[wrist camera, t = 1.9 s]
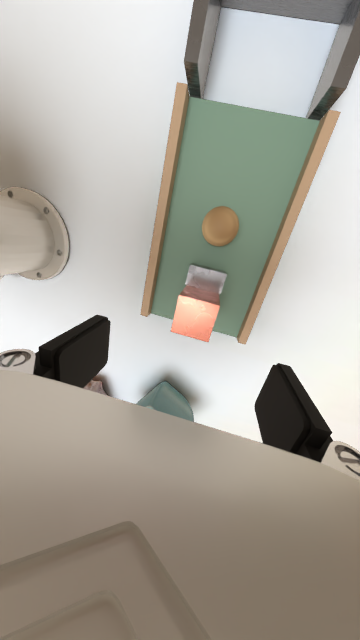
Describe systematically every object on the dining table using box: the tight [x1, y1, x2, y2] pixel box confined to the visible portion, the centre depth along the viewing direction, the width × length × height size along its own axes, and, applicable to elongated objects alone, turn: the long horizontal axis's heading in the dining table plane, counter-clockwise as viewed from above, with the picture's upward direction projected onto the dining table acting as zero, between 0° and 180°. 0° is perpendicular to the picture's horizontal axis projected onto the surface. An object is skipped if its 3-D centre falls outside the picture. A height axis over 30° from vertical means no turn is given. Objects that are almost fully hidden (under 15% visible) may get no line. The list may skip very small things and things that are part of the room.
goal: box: [184, 0, 360, 121], centre depth 17 cm, size 8×13×5 cm, turn 76°
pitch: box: [140, 82, 341, 344], centre depth 24 cm, size 24×15×3 cm, turn 166°
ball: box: [202, 206, 239, 246], centre depth 21 cm, size 4×4×4 cm
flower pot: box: [136, 381, 194, 422], centre depth 32 cm, size 9×9×9 cm
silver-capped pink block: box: [171, 263, 227, 342], centre depth 22 cm, size 7×4×8 cm, turn 166°
